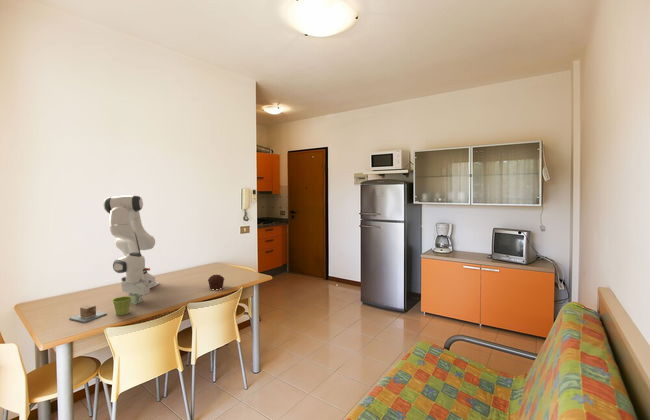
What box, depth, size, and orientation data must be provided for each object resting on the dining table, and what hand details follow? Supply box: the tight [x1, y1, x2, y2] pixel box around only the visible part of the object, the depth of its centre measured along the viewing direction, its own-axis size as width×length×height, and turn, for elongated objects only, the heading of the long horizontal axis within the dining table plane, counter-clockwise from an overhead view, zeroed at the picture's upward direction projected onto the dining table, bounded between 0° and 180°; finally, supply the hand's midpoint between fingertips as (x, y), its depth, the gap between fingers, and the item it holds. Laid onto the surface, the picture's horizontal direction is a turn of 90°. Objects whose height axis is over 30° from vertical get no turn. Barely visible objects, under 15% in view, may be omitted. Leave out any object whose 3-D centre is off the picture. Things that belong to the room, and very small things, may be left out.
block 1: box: [79, 304, 97, 318], centre depth 172 cm, size 5×5×5 cm
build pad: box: [69, 310, 108, 324], centre depth 173 cm, size 12×12×1 cm
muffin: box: [207, 274, 225, 291], centre depth 226 cm, size 12×11×10 cm
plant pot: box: [112, 295, 132, 317], centre depth 178 cm, size 9×9×9 cm
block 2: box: [128, 293, 143, 305], centre depth 196 cm, size 5×5×5 cm
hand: (135, 299), depth 196 cm, fingers closed on block 2, 5 cm apart
